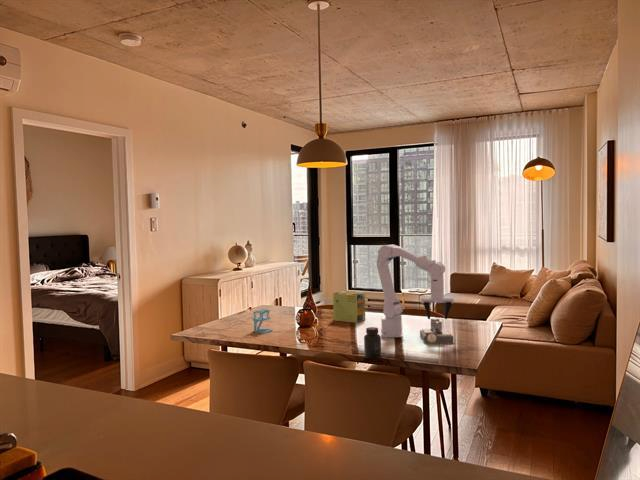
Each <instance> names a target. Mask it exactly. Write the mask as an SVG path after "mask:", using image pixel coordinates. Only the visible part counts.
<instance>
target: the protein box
mask: <svg viewBox="0 0 640 480" xmlns="http://www.w3.org/2000/svg"><path fill="white" fill-rule="evenodd" d="M332 295H333V298H332V301H333V302H332V303H333V309H332V310H333V312H332V313H333V321H338V322H346V323H355V324H357V323H360V322H363V321H365V320H366V292H361V291H360V292H359V291H343V290H341V291H337V292H334V293H333V294H332Z"/></svg>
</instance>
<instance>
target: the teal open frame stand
mask: <svg viewBox="0 0 640 480" xmlns="http://www.w3.org/2000/svg"><path fill="white" fill-rule="evenodd" d="M256 313H258V314H259V316H257V315H256ZM264 314H266V316H264ZM269 315H270V309H268V308H261V309H257V310H255V311H253V316H254V317H252V321H253V333H254V332H255V333H258V334H262V335H265V334H269V333H271V332H273V328H272V329H271V328H261V326H262V324H263V322H265V321H268V320H271V317H270V316H269ZM257 324H258V325H257Z"/></svg>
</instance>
